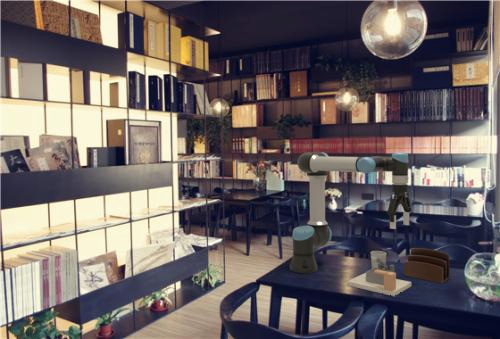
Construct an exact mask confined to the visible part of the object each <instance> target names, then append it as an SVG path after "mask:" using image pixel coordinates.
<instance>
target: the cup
mask: <svg viewBox="0 0 500 339" xmlns="http://www.w3.org/2000/svg"><path fill="white" fill-rule="evenodd" d="M387 255H388V254H387V252H385V251H382V250H372V251H370V259H371V261H370V262H371V269H372V268H373V269H374V268H378V263H377V262H376V261H374V260H373V259H372V258H371V256H373V257H377V258H379V259H380V260H381V261H382V262H384V263H385V264H386V265H387ZM383 269H384V270H386V268H383Z"/></svg>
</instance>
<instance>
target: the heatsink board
mask: <svg viewBox="0 0 500 339" xmlns="http://www.w3.org/2000/svg"><path fill="white" fill-rule="evenodd" d="M388 266H389V269H385V270H384V269H383V268H382V266H381V265H379V264H378V268H374V269H373V268H372V267H371V269H368V270H366V271H365V273H362V274H360V275H357V276H356V277H353V278H351V279H349V280H347V281H346V285H347V286H348V287H353V288H358V289H361V290H367V291H370V292H375V293H378V294H382V293H383V295H387V296H390V295H391V297H396V296H397V295H399V294H400V292H401V293H403V292H404V291H405V290H408V289H409V288H411V287H412V282H411V281H408V280H405V279H404V280H403V279H398V278H396V289H395V290H394V291H388V290H384V275H383V274H378V273H374V271H375V270H377V269H378V270H383V271H389V272H394V273H395V264H390V265H388ZM395 295H396V296H395Z"/></svg>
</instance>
